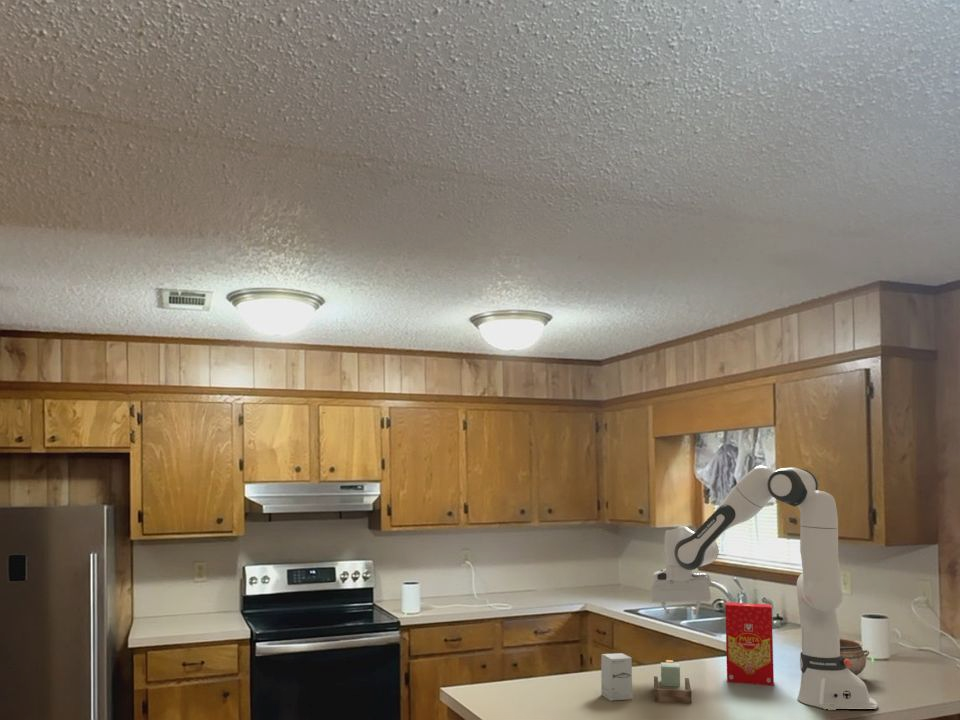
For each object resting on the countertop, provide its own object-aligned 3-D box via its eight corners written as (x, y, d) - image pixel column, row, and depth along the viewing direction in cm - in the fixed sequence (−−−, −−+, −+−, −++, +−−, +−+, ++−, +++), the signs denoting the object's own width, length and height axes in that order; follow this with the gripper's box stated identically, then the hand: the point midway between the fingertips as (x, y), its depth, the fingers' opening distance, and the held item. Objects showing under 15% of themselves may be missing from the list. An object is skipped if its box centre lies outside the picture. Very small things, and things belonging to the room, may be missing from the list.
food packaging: (727, 681, 294) (725, 604, 296) (727, 678, 299) (725, 602, 301) (773, 685, 290) (771, 607, 292) (773, 681, 295) (771, 604, 297)
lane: (689, 689, 284) (688, 678, 285) (691, 703, 269) (691, 691, 269) (654, 687, 286) (653, 676, 287) (654, 701, 271) (654, 689, 271)
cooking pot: (851, 670, 310) (850, 634, 312) (887, 684, 292) (885, 646, 293) (787, 673, 305) (786, 637, 307) (819, 688, 287) (817, 649, 288)
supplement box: (610, 701, 270) (610, 658, 271) (600, 695, 277) (600, 653, 278) (632, 699, 272) (632, 657, 273) (622, 693, 279) (622, 652, 280)
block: (678, 673, 304) (678, 655, 305) (680, 686, 288) (679, 667, 289) (660, 672, 306) (660, 654, 306) (661, 685, 289) (661, 666, 290)
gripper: (709, 572, 306) (712, 613, 305) (649, 572, 310) (651, 613, 309) (710, 574, 300) (713, 616, 299) (649, 575, 304) (651, 616, 302)
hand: (681, 614), depth 304 cm, fingers open, 8 cm apart
